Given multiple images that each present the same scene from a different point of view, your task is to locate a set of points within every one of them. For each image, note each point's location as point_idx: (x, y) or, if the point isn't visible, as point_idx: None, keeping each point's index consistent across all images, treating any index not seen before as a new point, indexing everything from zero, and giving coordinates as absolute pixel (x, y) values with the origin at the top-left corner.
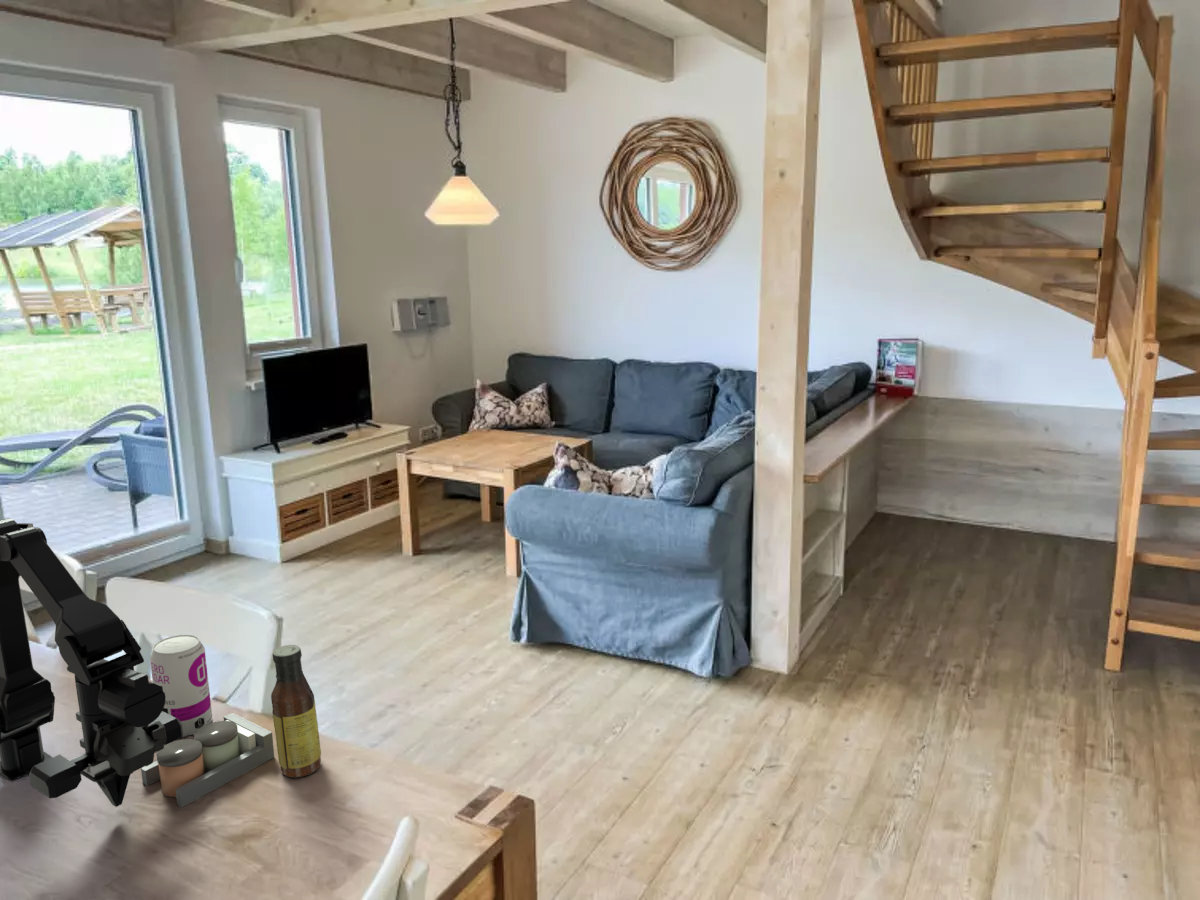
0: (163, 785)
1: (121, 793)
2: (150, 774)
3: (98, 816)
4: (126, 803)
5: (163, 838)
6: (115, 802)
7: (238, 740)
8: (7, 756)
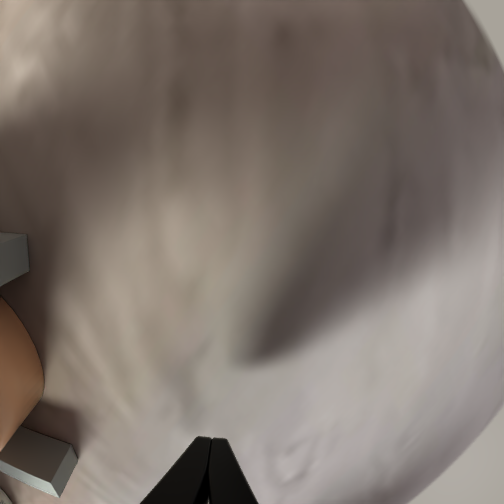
0: (21, 388)
1: (189, 479)
2: (45, 462)
3: (256, 454)
4: (154, 439)
5: (198, 84)
6: (229, 456)
7: None
8: None
